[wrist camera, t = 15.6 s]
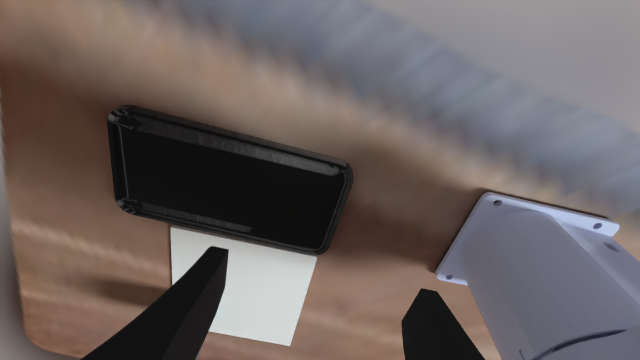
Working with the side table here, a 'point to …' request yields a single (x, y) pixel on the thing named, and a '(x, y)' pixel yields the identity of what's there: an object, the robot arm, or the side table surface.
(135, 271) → the side table surface
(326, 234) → the phone
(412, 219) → the side table surface
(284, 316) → the paper
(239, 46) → the side table surface
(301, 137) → the side table surface
